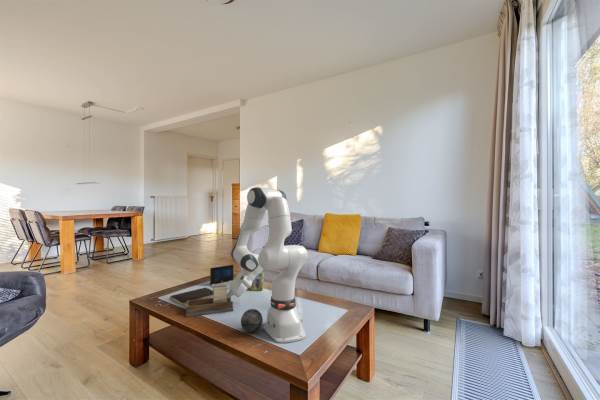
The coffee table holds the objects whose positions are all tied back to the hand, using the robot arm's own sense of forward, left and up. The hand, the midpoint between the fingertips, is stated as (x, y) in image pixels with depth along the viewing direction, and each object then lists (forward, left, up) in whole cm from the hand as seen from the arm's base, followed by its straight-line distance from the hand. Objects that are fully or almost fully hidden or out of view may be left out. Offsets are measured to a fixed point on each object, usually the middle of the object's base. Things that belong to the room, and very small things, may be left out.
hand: (227, 296), depth 155 cm
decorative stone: (-34, -7, -6) cm, 35 cm away
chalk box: (+26, -22, -6) cm, 35 cm away
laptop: (+39, -3, -6) cm, 39 cm away
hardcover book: (+22, +18, -6) cm, 29 cm away
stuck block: (0, +4, -4) cm, 6 cm away
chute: (0, +10, -5) cm, 11 cm away
